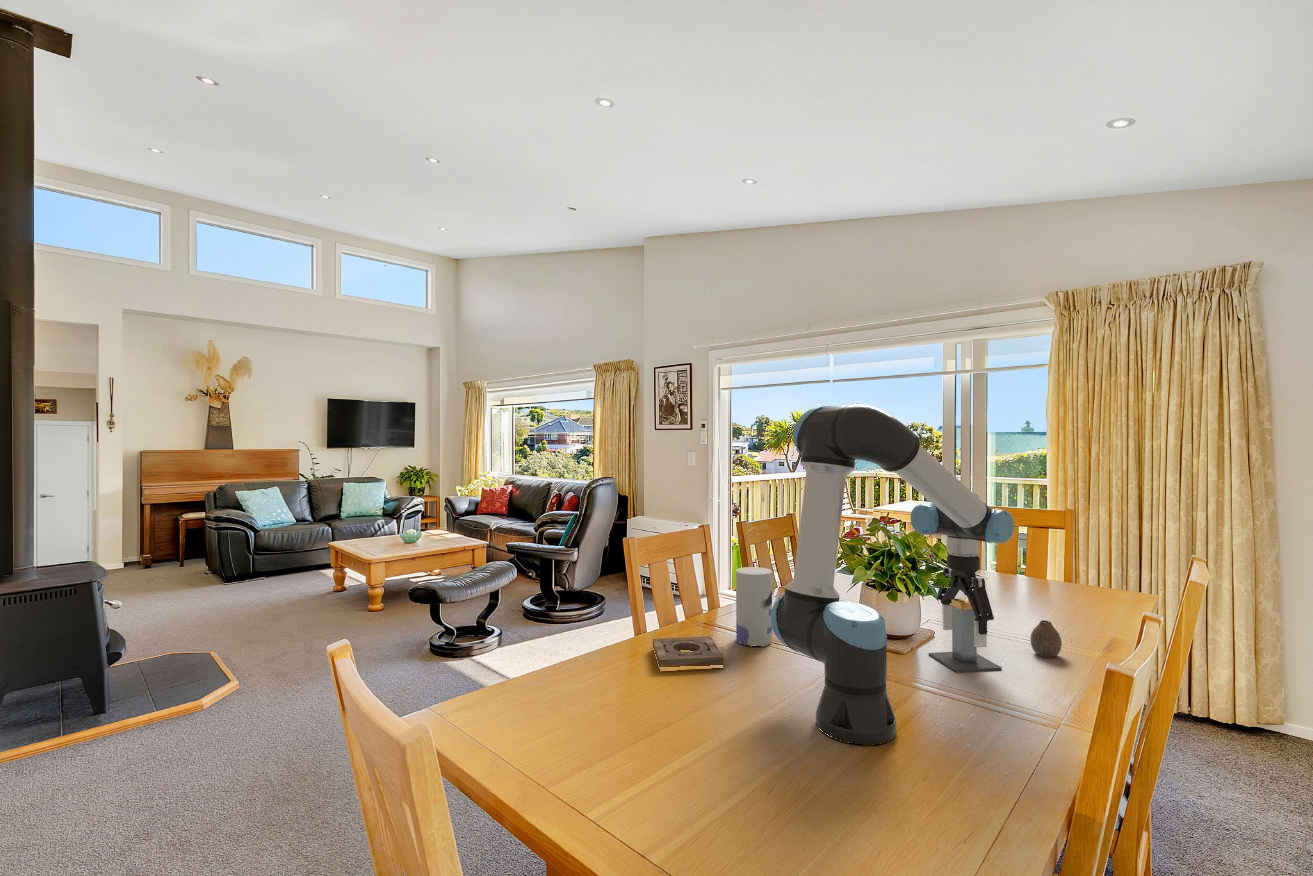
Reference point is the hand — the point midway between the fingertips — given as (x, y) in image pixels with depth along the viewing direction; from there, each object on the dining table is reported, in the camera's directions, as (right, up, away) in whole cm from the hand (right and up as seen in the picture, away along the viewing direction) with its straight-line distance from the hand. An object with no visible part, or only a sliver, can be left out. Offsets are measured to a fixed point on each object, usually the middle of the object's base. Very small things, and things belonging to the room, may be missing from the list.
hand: (963, 637), depth 158 cm
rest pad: (0, -6, 0) cm, 6 cm away
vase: (+24, -6, +5) cm, 25 cm away
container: (-50, -7, +18) cm, 54 cm away
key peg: (0, -6, 0) cm, 6 cm away
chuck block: (-70, -7, +4) cm, 70 cm away
